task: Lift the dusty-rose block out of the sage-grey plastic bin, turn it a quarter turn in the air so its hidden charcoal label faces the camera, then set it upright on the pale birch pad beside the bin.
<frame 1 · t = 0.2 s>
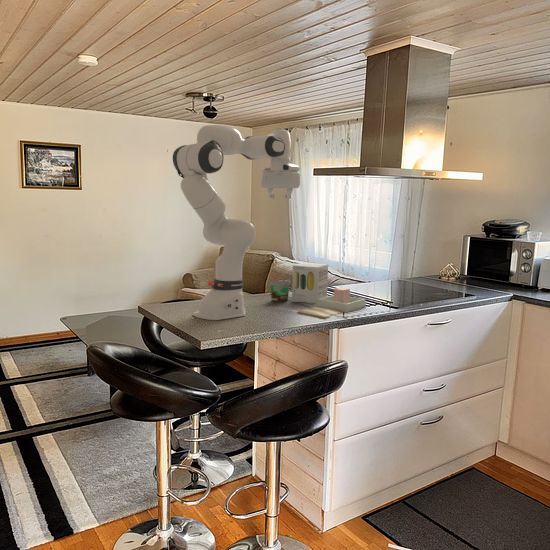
hand: (279, 198, 227), 48 cm above the counter, fingers open, 8 cm apart
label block: (341, 306, 225), point 1 cm above the counter, touching bin
food container: (282, 301, 238), on the counter
pad: (320, 313, 214), on the counter
supplement box: (309, 301, 239), on the counter
bin: (341, 307, 225), on the counter
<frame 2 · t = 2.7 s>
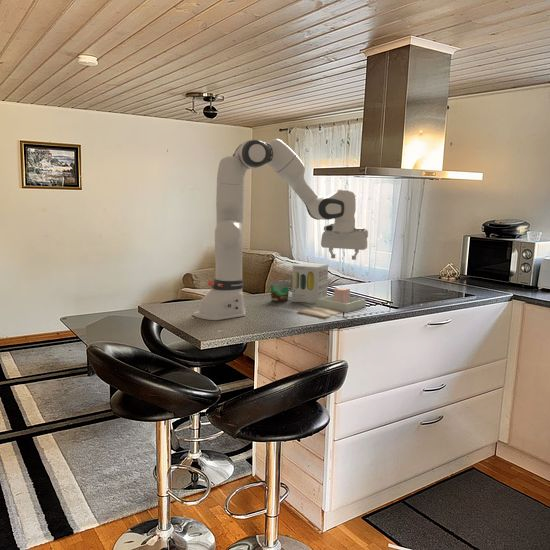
hand: (343, 258, 222), 22 cm above the counter, fingers open, 8 cm apart
nothing on the counter moved.
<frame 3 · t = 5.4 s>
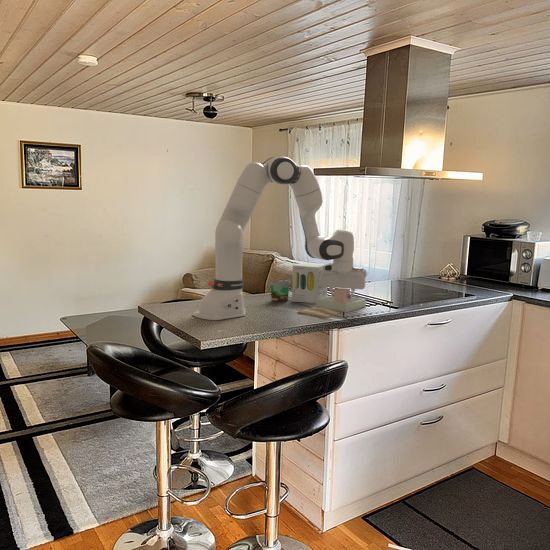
hand: (341, 297, 225), 5 cm above the counter, fingers closed on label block, 6 cm apart
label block: (341, 306, 225), point 1 cm above the counter, touching bin, gripper
everything else where it was.
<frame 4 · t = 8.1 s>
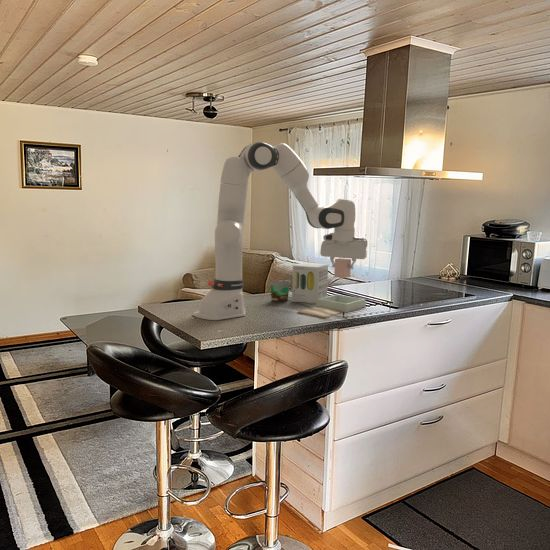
hand: (342, 268, 223), 18 cm above the counter, fingers closed on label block, 6 cm apart
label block: (342, 277, 223), point 14 cm above the counter, touching gripper
everything else where it was.
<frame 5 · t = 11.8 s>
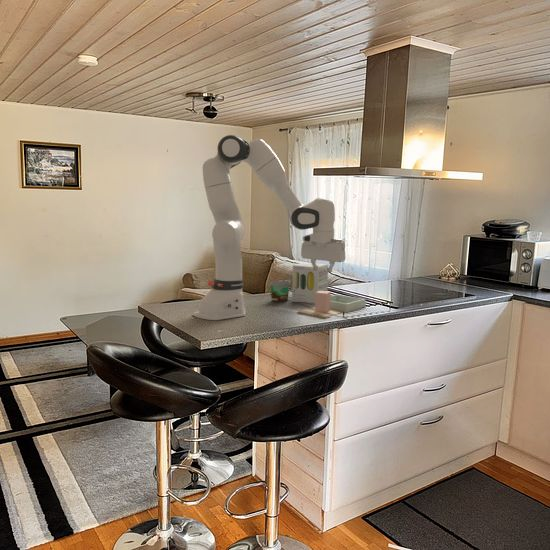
hand: (322, 271, 211), 18 cm above the counter, fingers open, 6 cm apart
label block: (322, 310, 216), point 1 cm above the counter, touching pad
everything else where it was.
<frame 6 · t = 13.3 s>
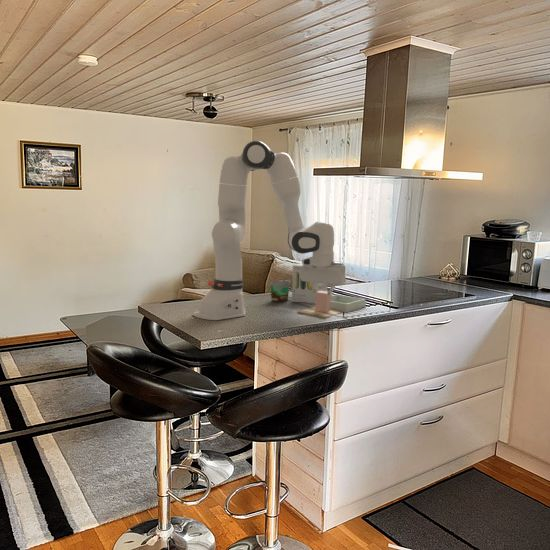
hand: (322, 293, 213), 8 cm above the counter, fingers open, 6 cm apart
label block: (322, 310, 216), point 1 cm above the counter, touching gripper, pad
everything else where it was.
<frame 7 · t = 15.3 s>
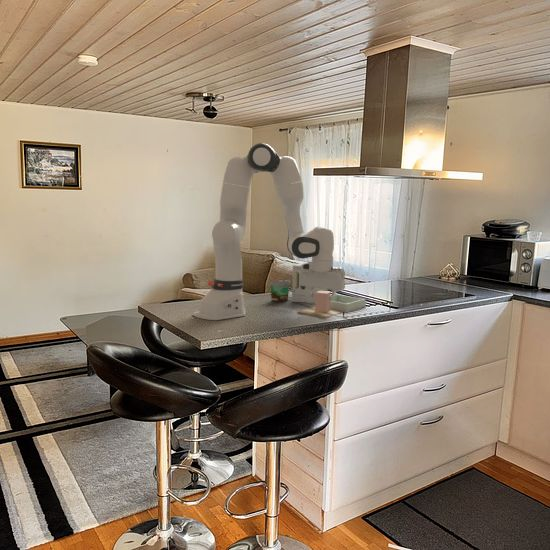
hand: (321, 298, 213), 6 cm above the counter, fingers open, 8 cm apart
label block: (322, 310, 216), point 1 cm above the counter, touching pad
everything else where it was.
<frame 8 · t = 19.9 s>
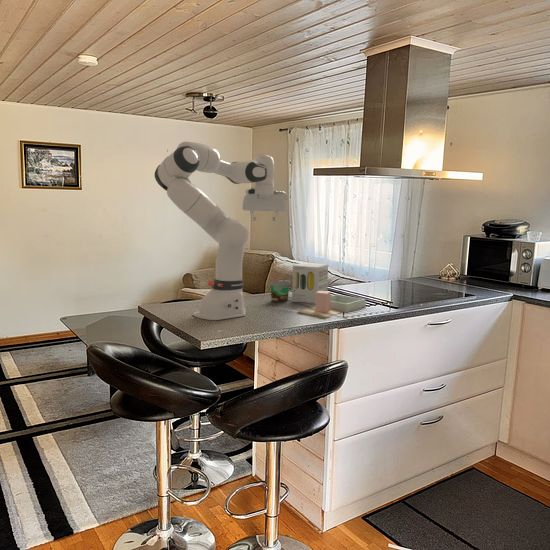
hand: (264, 220, 237), 37 cm above the counter, fingers open, 8 cm apart
nothing on the counter moved.
at the end: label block 2.1 cm off-centre on the pad, point 0.8 cm above the pad's base; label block tilted 0°; the gripper is holding nothing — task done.
